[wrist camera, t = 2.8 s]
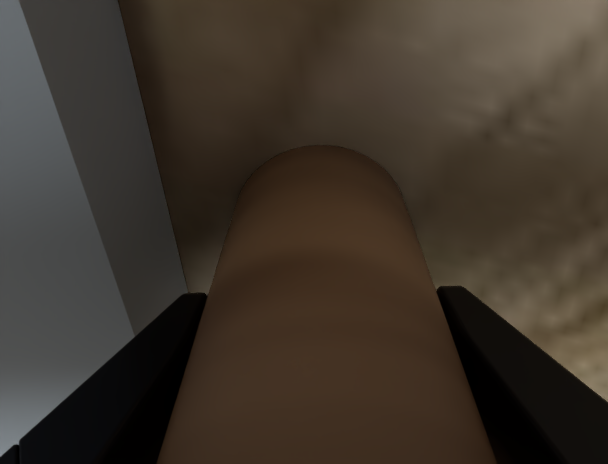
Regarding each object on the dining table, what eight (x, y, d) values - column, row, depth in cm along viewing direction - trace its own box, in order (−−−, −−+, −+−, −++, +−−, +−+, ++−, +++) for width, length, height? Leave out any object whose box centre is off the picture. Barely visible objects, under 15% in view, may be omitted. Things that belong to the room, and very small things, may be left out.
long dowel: (400, 290, 12) (523, 779, 5) (245, 294, 12) (149, 770, 5) (412, 141, 9) (667, 640, 3) (222, 149, 10) (-1, 635, 3)
